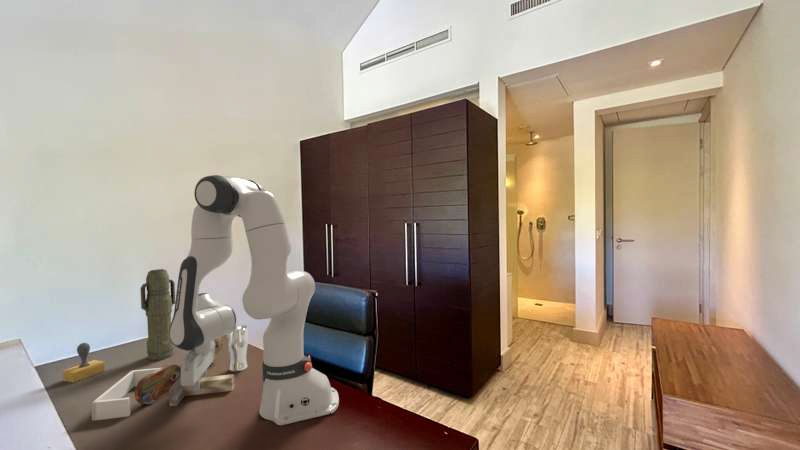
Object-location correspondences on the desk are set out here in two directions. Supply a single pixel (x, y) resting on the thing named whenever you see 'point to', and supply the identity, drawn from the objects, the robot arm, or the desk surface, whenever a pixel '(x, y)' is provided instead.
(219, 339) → the lion figurine
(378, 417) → the desk surface
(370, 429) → the desk surface
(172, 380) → the tin
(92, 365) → the rubber stamp
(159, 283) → the thermos
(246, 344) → the beer glass
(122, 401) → the box
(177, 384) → the scraper
